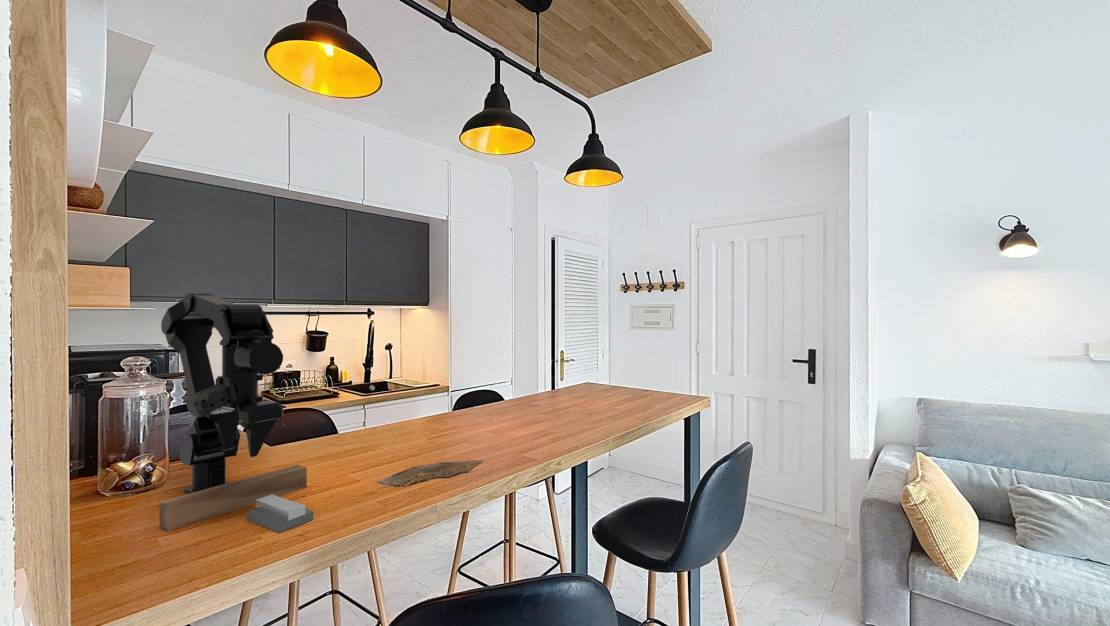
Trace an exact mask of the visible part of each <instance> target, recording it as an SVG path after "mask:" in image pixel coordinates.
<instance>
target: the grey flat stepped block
mask: <svg viewBox="0 0 1110 626" xmlns="http://www.w3.org/2000/svg"><path fill="white" fill-rule="evenodd" d="M246 520H247V521H249V522H251V523H254V524H257V525H258V526H262V527H264V528H266V529H269V530H271V531H274V532H277V533H279V534H281V533H283V532H285V531H288V530H291V529H293V528H296V527H298V526H301V525H304V524H306V523H308V522H312V521H313V520H314V510H311V509H308V508H306V505H304V504H303V503H299V502H297V501H293V500H290V499H287V498H284V497H282V496H276V495H273V494H272V495H269V496H266V497H263V498H260V499H257V500H256V504H255V508H251V509H249V510H246Z"/></svg>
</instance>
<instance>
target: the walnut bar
mask: <svg viewBox="0 0 1110 626" xmlns="http://www.w3.org/2000/svg"><path fill="white" fill-rule="evenodd" d="M307 471H308V467H307V466H304V465H302V464H297V463H296V464H293V465H290V466H286V467H282V468H279V469H275V470H271V471H268V472H264V473H261V474H256V475H253V476H250V477H246V478H242V479H238V480H235V481H230V482H229V483H227V484H223V485H219V486H216V487H212V488H208V489H205V490H201V491H197V492H194V493H186V494H182V495H179V496H175V497H172V498H168V499H165V500H161V501H159V528H161V529H163V530H165V531H167V532H171V531H174V530H177V529H178V530H179V529H180V528H183V527H186V526H189V525H193V524H196V523H199V522H202V521H205V520H208V519H212V518H215V517H218V516H221V515H224V514H228V513H230V512H234V511H237V510H241V509H243V508H245V507H249V506H252V505H256V500H257V499H260V498H263V497H266V496H269V495H272V494H273V495H276V496H279V497H282V496H284V495H286V494H290V493H293V492H296V491H299V490H302V489H305V488H307V484H308V483H307V482H308V481H307V480H308V479H307V477H308V476H307V475H308V474H307V473H308V472H307Z"/></svg>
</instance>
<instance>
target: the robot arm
mask: <svg viewBox="0 0 1110 626" xmlns="http://www.w3.org/2000/svg"><path fill="white" fill-rule="evenodd" d="M160 324H161V325H160V327H161V331H162V334H164V335H165V338H166V342H167V344H168V346H170V347H171V348H172V349H173V350H175V352H177V353H178V354H179V356H180V362H181V365H182V371H183V374H184V375H183V376H184V378H185V382H186V383H185V384H186V388H187V393H188V396H186V397H185V398H184V399H183V400H184V403H185V406H186V407H187V410H188V412H189V414H190V416H192V419H191V421H190V423H189V425H188V427H187V430H186V437H185V438H184V442H183V444H182V445H181V447H180V450H179V458H180V463H182V464H185V465H186V466H188V467H191V485H190V486H186V487H184V488H183V491H184V492H187V493H188V494H190V493H194V492H197V491H201V490H205V489H208V488H212V487H216V486H219V485H223V484H227V483H230V482H228V481H227V479H226V478H227V476H226V475H227V474H226V473H227V472H226V471H227V469H226V468H227V466H226V465H227V461H226V460H227V458H231V457H236V456H237V454H238V451H239V444H240V439H241V433H240V431H239V429H238V427H239V425H240V426H241V427H242V428H244V429H245V433H246V439H247V446H248V453H249V457H250V458H254V457H257V456H258V455H259V454H260V453H259V452H260V451H261V449H262V447H263V445H264V444H265V441H266V440H267V438H268V435H269V434H270V432H271V430H272V429H273V427H274V426H275V424H276V422H278V421H280V420H279V419H280V418H283V417H284V406H283V405H282V404H281V403H280V402H278V401H273V400H264V396H263V395H259V381H263V380H264V375H270V374H273V373H275V372H277V371H278V370H279V369H280V367H281V366H282V365H283V362H284V361H283V360H284V354H283V351H282V350H281V348H280V347H279V345H277V344H275V343H273V342H272V341H273V339H274V334H273V333H274V329H273V327H272V325H271V323H270V321H269V320H268V317H267V314H266V312H265V311H264V310H263V308H262V306H261V305H260V304H257V303H235V302H234V303H233V302H232V301H228V300H225V299H224V298H220V297H219V296H218V297H217V295H215V294H212V293H206V292H205V293H202V292H201V293H200V292H190V293H187V294H185V295H184V296H183V298H182V300H180V301H179V302H177V303H176V304H174V305H172V306H170V307H169V308H167V310H166V312H165V313H164V315H163V317H162V320H161V323H160ZM214 329H215V330H216V331H217V332H218V334H219V335H220V336H221V340H220V341H219V345H220V346H222V347H221V352H222V353H221V356H222V357H221V367H222V368H221V371H222V372H221V373H222V374H221V375H217V376H216V378H214V374H213V370H212V366H211V361H210V358H209V353H208V349H207V344H208V343H209V341H210V339H211V337H212V335H213V330H214Z"/></svg>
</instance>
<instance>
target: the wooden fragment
mask: <svg viewBox="0 0 1110 626" xmlns="http://www.w3.org/2000/svg"><path fill="white" fill-rule="evenodd" d="M483 462H484V460H483V459H478V460H464V461H448V462H447V461H446V462H436V463H429V464H428V463H427V464H419V465H417V466H411V467H410V468H406V469H404V470H402V471H400V472H396V473H394V474H391V475H389V476H387V477H385V478H382V479H379V480H377V482H376V484H380V485H383V486H387V487H388V486H391V487H397V488H398V487H400V488H401V487H403V488H405V487H408V486H410V485H413V484H417V483H419V482H425V481H428V480H433V479H439V478H440V479H443V478H448V477H454V476H455V475H458V474H461V473H469V472H471V471H472V470H474V469H475V468H476V467H477V466H478V465H479V464H483Z"/></svg>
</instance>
